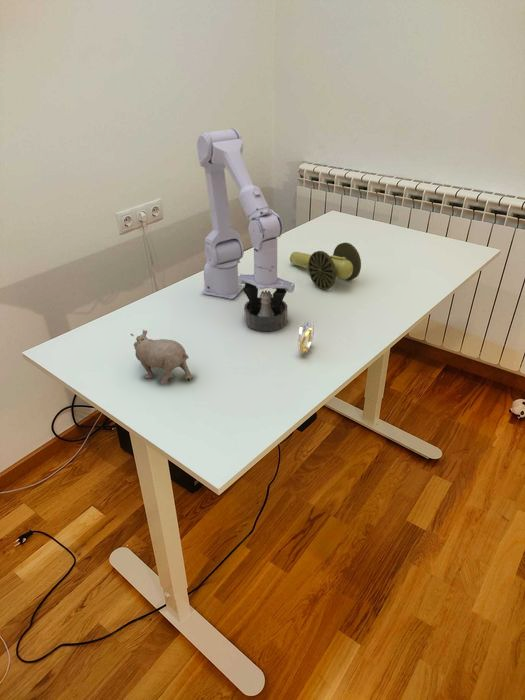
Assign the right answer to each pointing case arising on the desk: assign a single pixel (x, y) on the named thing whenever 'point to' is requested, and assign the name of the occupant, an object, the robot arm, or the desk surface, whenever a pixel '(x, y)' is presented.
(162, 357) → the brown animal figurine
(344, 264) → the cannon
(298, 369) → the desk surface
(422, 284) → the desk surface
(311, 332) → the ring
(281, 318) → the bowl
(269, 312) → the rook chess piece
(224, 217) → the robot arm
